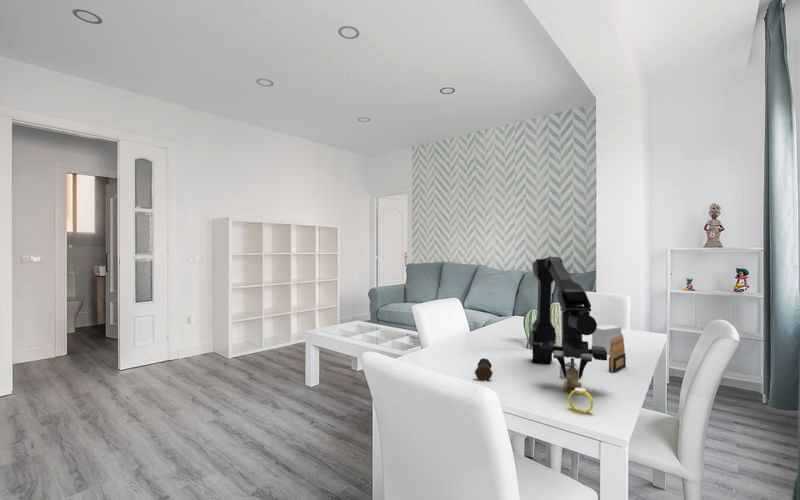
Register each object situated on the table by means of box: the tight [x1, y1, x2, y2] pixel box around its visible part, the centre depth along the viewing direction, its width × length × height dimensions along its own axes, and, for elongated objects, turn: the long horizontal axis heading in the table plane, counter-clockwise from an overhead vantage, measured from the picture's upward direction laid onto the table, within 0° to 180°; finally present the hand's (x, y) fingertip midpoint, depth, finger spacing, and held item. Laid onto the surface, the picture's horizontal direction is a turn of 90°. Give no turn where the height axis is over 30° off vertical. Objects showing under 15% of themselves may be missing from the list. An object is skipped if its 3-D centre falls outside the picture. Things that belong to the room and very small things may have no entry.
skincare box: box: [591, 324, 622, 356], centre depth 161 cm, size 10×6×10 cm, turn 114°
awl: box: [566, 357, 579, 389], centre depth 119 cm, size 3×3×9 cm
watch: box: [567, 387, 594, 414], centre depth 103 cm, size 6×3×6 cm, turn 51°
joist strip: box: [563, 380, 583, 395], centre depth 127 cm, size 5×25×1 cm, turn 156°
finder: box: [559, 361, 584, 380], centre depth 130 cm, size 5×7×4 cm
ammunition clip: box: [608, 333, 627, 374], centre depth 137 cm, size 11×2×12 cm, turn 131°
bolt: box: [474, 357, 493, 382], centre depth 134 cm, size 6×5×15 cm
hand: (572, 378), depth 119 cm, fingers open, 4 cm apart
